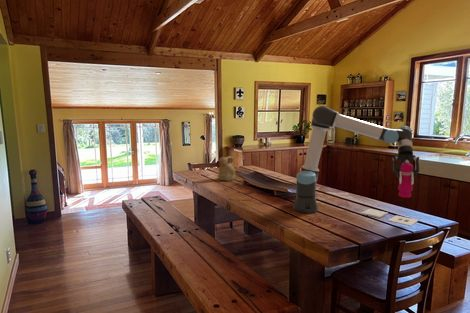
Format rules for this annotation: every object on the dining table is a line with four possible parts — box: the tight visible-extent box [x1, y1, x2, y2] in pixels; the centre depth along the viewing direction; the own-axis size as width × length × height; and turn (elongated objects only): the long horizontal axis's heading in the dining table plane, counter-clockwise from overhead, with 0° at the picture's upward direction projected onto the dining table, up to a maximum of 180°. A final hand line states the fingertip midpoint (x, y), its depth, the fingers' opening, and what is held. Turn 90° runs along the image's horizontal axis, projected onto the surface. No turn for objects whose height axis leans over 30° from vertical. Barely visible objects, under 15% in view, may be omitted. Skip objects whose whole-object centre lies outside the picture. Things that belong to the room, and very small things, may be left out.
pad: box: [360, 208, 389, 219], centre depth 189 cm, size 11×11×1 cm
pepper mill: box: [397, 160, 414, 199], centre depth 175 cm, size 7×7×20 cm
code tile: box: [387, 215, 420, 227], centre depth 178 cm, size 12×12×1 cm
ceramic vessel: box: [217, 151, 236, 182], centre depth 291 cm, size 17×20×25 cm
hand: (406, 182), depth 171 cm, fingers closed on pepper mill, 5 cm apart
